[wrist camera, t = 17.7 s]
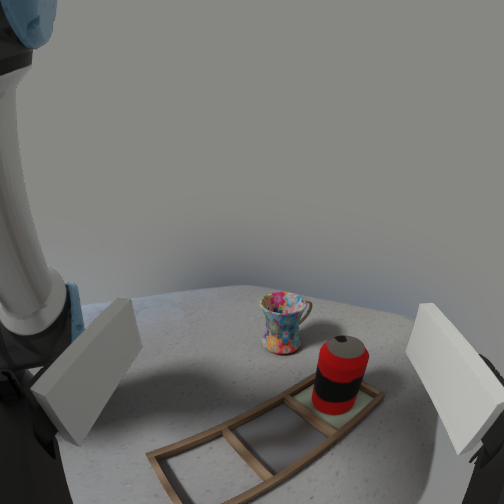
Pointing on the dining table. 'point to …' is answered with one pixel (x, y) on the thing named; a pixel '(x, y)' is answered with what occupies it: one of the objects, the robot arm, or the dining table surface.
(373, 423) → the dining table surface
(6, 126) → the robot arm
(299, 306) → the mug
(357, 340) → the soda can
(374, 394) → the frame
